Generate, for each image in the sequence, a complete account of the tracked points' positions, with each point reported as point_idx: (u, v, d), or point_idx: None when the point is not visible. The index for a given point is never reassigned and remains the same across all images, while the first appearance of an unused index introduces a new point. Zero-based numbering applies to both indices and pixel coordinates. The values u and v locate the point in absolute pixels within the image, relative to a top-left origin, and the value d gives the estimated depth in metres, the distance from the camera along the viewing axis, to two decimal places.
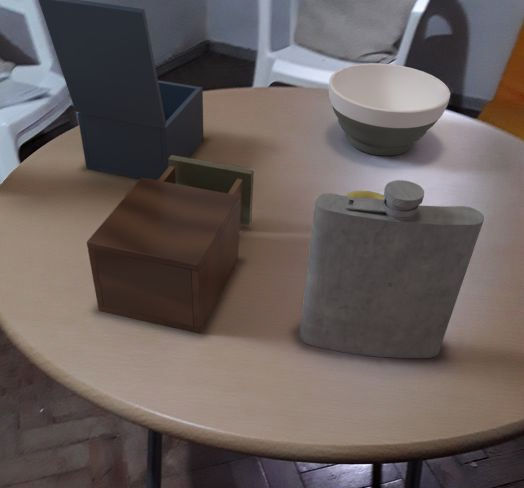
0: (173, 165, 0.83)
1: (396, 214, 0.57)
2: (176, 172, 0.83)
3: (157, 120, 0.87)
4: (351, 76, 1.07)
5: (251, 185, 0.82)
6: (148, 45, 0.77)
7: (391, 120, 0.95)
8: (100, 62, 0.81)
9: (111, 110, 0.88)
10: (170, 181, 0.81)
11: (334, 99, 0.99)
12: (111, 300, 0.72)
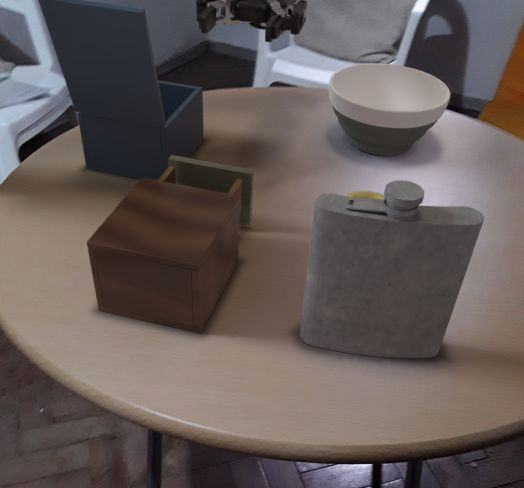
0: (173, 165, 0.83)
1: (396, 214, 0.57)
2: (176, 172, 0.83)
3: (157, 120, 0.87)
4: (351, 76, 1.07)
5: (251, 185, 0.82)
6: (148, 45, 0.77)
7: (391, 120, 0.95)
8: (100, 62, 0.81)
9: (111, 110, 0.88)
10: (170, 181, 0.81)
11: (334, 99, 0.99)
12: (111, 300, 0.72)
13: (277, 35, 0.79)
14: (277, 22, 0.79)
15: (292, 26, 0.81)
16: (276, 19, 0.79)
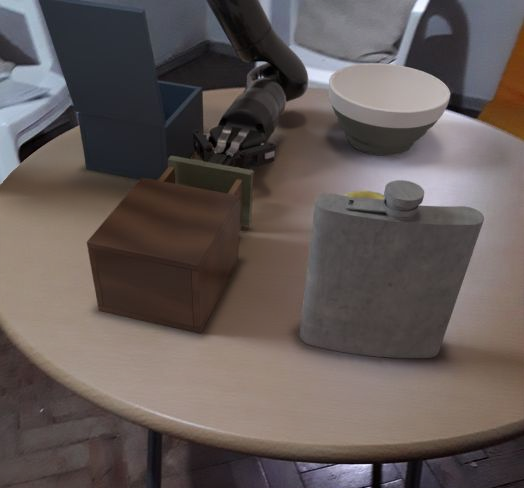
0: (173, 166, 0.83)
1: (396, 214, 0.57)
2: (176, 173, 0.83)
3: (157, 120, 0.87)
4: (351, 76, 1.07)
5: (251, 186, 0.82)
6: (148, 45, 0.77)
7: (391, 120, 0.95)
8: (100, 62, 0.81)
9: (111, 110, 0.88)
10: (170, 182, 0.81)
11: (334, 99, 0.99)
12: (111, 300, 0.72)
13: None
14: (225, 162, 0.86)
15: None
16: (225, 159, 0.86)
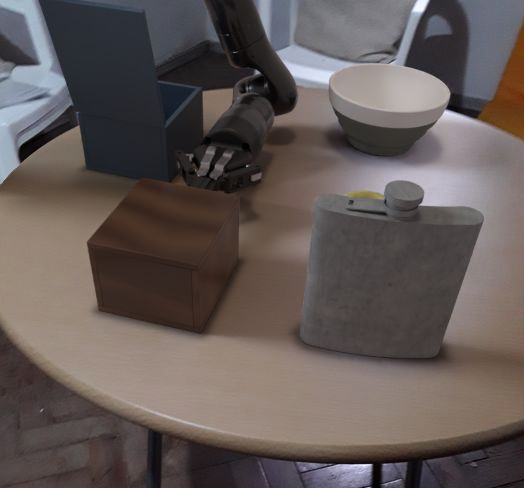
0: None
1: (396, 214, 0.57)
2: None
3: (157, 120, 0.87)
4: (351, 76, 1.07)
5: None
6: (148, 45, 0.77)
7: (391, 120, 0.95)
8: (100, 62, 0.81)
9: (111, 110, 0.88)
10: None
11: (334, 99, 0.99)
12: (111, 300, 0.72)
13: None
14: (209, 186, 0.81)
15: None
16: (208, 183, 0.81)
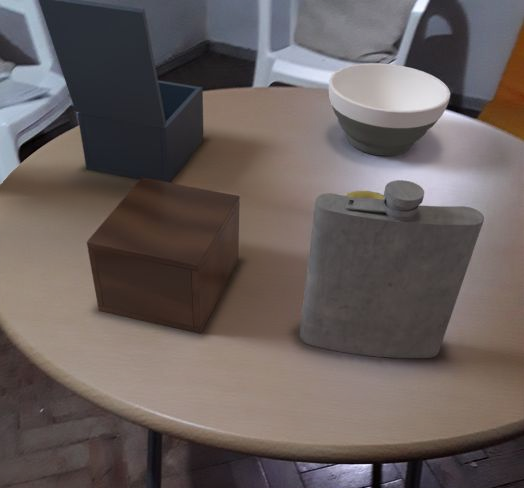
0: None
1: (396, 214, 0.57)
2: None
3: (157, 120, 0.87)
4: (351, 76, 1.07)
5: None
6: (148, 45, 0.77)
7: (391, 120, 0.95)
8: (100, 62, 0.81)
9: (111, 110, 0.88)
10: None
11: (334, 99, 0.99)
12: (111, 300, 0.72)
13: None
14: None
15: None
16: None
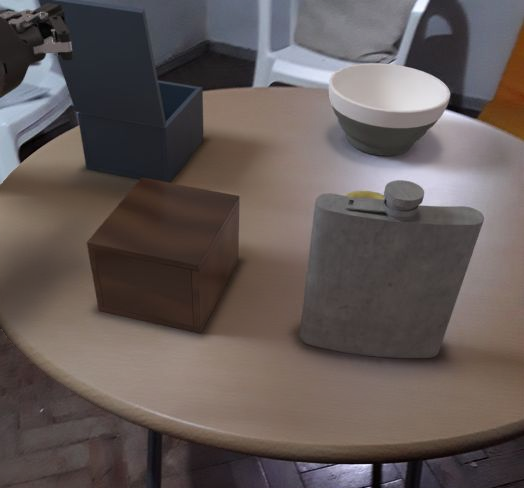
0: None
1: (396, 214, 0.57)
2: None
3: (157, 120, 0.87)
4: (351, 76, 1.07)
5: None
6: (148, 45, 0.77)
7: (391, 120, 0.95)
8: (100, 62, 0.81)
9: (111, 110, 0.88)
10: None
11: (334, 99, 0.99)
12: (111, 300, 0.72)
13: (63, 14, 0.68)
14: None
15: None
16: None
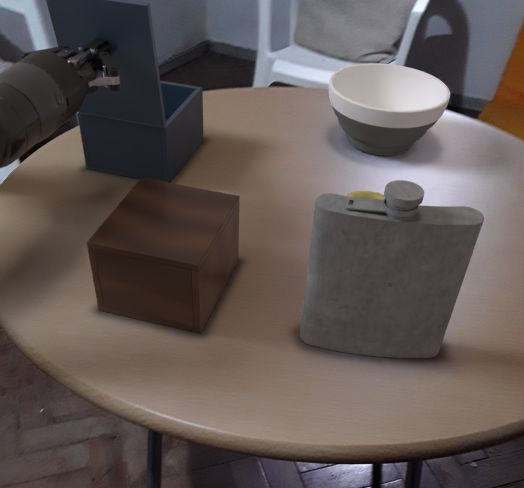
0: None
1: (396, 214, 0.57)
2: None
3: (157, 119, 0.87)
4: (351, 76, 1.07)
5: None
6: (151, 40, 0.78)
7: (391, 120, 0.95)
8: None
9: (112, 109, 0.88)
10: None
11: (334, 99, 0.99)
12: (111, 300, 0.72)
13: (109, 48, 0.79)
14: None
15: None
16: None
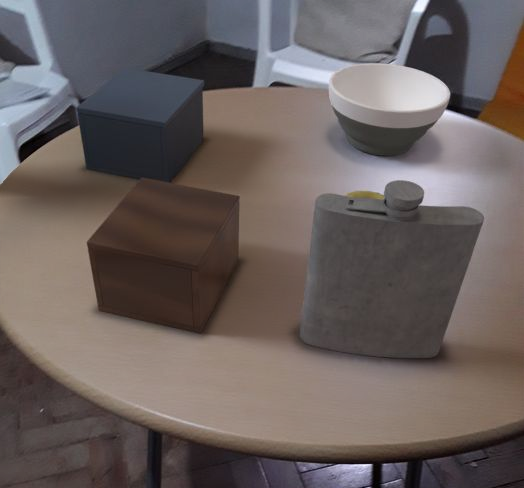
0: None
1: (396, 214, 0.57)
2: None
3: (162, 119, 0.89)
4: (351, 76, 1.07)
5: None
6: (194, 90, 0.96)
7: (391, 120, 0.95)
8: (141, 91, 0.95)
9: (119, 110, 0.90)
10: None
11: (334, 99, 0.99)
12: (111, 300, 0.72)
13: None
14: None
15: None
16: None
